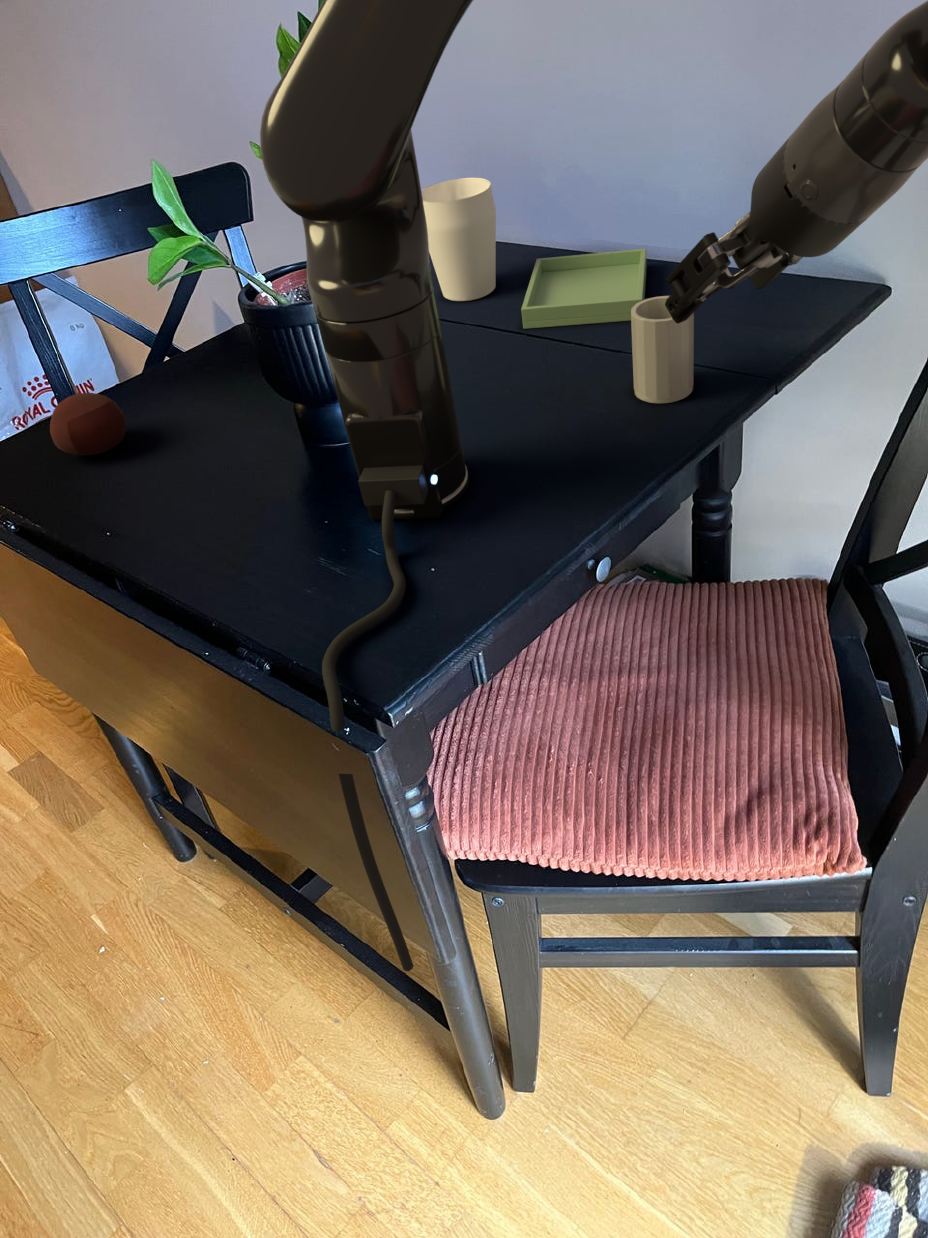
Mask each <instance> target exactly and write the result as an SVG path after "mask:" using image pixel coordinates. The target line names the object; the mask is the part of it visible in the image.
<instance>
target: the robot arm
mask: <svg viewBox="0 0 928 1238" xmlns="http://www.w3.org/2000/svg"><path fill="white" fill-rule="evenodd" d="M473 2H474V0H322V3H321V4H320V6H319V8H318V10H317V12H316V14H315V15H314V18H313V20H312V21H311V24H310V26H309V27H308V30H307V31H306V33H305V35H304V37H303V39H302V41H301V42H300V44H299V46H298V48H297V50H296V52H295V53H294V55H293V57H292V59H291V60H290V62H289V64H288V65H287V67H286V69H285V71H284V73H283V74H282V76H281V78H280V79H279V81H278V82H277V84H276V85H275V87H274V88H273V90H272V91H271V93H270V95H269V97H268V99H267V101H266V103H265V106H264V109H263V113H262V115H261V120H260V130H259V143H260V144H259V145H260V146H259V147H260V148H259V149H260V154H261V161H262V165H263V169H264V171H265V174H266V175H265V176H266V177H267V179H268V182H269V184H270V186H271V188H272V190H273V191H274V193H275V194H276V196H277V197H278V198H279V200H280V201H281V202H282V203H283V205H285V206H286V207H287V208H288V209H289V210H290V211H292V212H293V213H294V214H296V215H298V216H300V217H301V221H302V226H303V232H304V239H305V250H306V251H305V253H306V283H307V288H308V292H309V296H310V300H311V304H312V307H313V311H314V315H315V319H316V322H317V326H318V330H319V334H320V336H321V341H322V345H323V349H324V353H325V356H326V361H327V364H328V369H329V372H330V375H331V379H332V383H333V386H334V390H335V394H336V395H335V396H336V398H337V402H338V405H339V409H340V413H341V417H342V420H343V424H344V428H345V432H346V436H347V440H348V443H349V447H350V450H351V454H352V458H353V462H354V465H355V468H356V472H357V477H358V481H357V482H358V486H359V490H360V493H361V497H362V500H363V501H362V502H363V504H364V506H365V507H366V508H367V511H368V515H369V518H370V520H372V521H377V520H381V535H382V542H383V546H384V553H385V559H386V564H387V567H388V571H389V574H390V576H391V579H392V582H393V588H392V590H391V593H390V594H389V596H388V597H387V599H386V601H385V602H383V604H381V605H380V606H379V607H378V608H376V609H374V610H373V611H371V612H369V613H368V614H366V615H365V616H363V617H362V618H360V619H358V620H356V621H355V622H353V623H352V624H350V625H349V626H347V627H346V628H344V629H343V630H342V631H341V632H340V633H339V634H338V635H337V636H336V637H335V638H334V639H333V640H332V641H331V643H330V644H329V645H328V647H327V649H326V651H325V653H324V655H323V658H322V663H321V674H322V675H321V676H322V681H323V685H324V688H325V692H326V697H327V702H328V711H329V719H330V720H329V721H330V728H331V730H332V731H333V732H340V731H342V730H343V729H344V728H345V725H346V724H345V723H346V722H345V713H344V703H343V697H342V692H341V688H340V687H341V686H340V684H339V680H338V676H337V671H336V664H337V661H338V658H339V656H340V655H341V652H342V651H343V650H344V648H345V647H346V645H348V643H350V642H351V641H352V640H354V639H355V638H356V637H357V636H359V635H361V634H362V633H364V632H366V631H368V630H369V629H370V628H372V627H374V626H376V625H377V624H379V623H381V622H382V621H383V620H385V619H386V618H387V617H388V616H390V615H391V614H392V613H393V612H394V611H395V610H396V609H397V608H398V607H399V605H400V604H401V602H402V601H403V598H404V596H405V593H406V587H407V583H406V577H405V574H404V571H403V570H402V567H401V564H400V559H399V556H398V550H397V549H398V548H397V543H396V537H395V529H394V528H395V525H394V521H395V520H408V519H409V520H410V519H438V518H440V517H442V514H443V512H444V510H446V509H447V508H449V507H451V506H452V505H454V504H455V503H457V502H458V501H459V500H460V499H461V498H462V497H463V496H464V495H465V493H466V491H467V490H468V488H469V486H470V485H469V484H470V478H469V472H468V467H467V465H466V462H465V461H466V460H465V456H464V449H463V445H462V439H461V435H460V429H459V423H458V418H457V412H456V406H455V400H454V394H453V389H452V384H451V379H450V372H449V367H448V361H447V356H446V350H445V345H444V339H443V333H442V327H441V321H440V316H439V315H440V314H439V310H438V305H437V299H436V298H437V297H436V292H435V287H434V281H433V275H432V269H431V261H430V259H431V258H430V253H429V242H428V231H427V223H426V217H425V211H424V205H423V199H422V192H421V190H422V187H421V180H420V173H419V167H418V162H417V161H418V160H417V155H416V149H415V143H414V137H413V132H412V131H413V130H412V128H413V126H414V123H415V120H416V118H417V116H418V113H419V110H420V108H421V105H422V102H423V100H424V98H425V96H426V93H427V91H428V88H429V86H430V83H431V81H432V79H433V76H434V73H435V71H436V69H437V67H438V65H439V63H440V60H441V59H442V56H443V54H444V52H445V50H446V48H447V46H448V45H449V43H450V41H451V38H452V36H453V35H454V33H455V31H456V29H457V27H458V26H459V24H460V23H461V20H462V19H463V17H464V16H465V14H466V13H467V11H468V9H469V8H470V6H471V5H472V3H473ZM927 160H928V0H926V1H924V2H923V3H921V4H919V5H918V6H916V7H915V8H913V9H912V10H909V11H908V12H907V13H905V14H904V15H902V16H901V17H900V18H899V19H897V20H896V21H895V22H894V23H893V24H892V25H891V26H889V28H888V29H886V30H885V32H883V33H882V34H881V36H880V37H879V38H877V40H876V41H875V42H874V43H873V45H871V46H870V48H869V49H868V50H867V52H866V53H865V54H864V55H863V56H862V58H861V59H860V60H859V61H858V62H857V64H856V65H855V66H854V67H853V68H852V69H851V70H850V72H849V73H848V74H847V75H846V76H845V77H844V79H842V81H841V82H840V83H839V84H838V85H837V86H836V87H834V88H833V90H831V91H830V92H829V93H827V95H825V96H824V97H823V98H822V99H821V100H820V101H819V102H818V103H817V104H816V105H815V106H814V107H813V109H812V110H811V111H810V112H809V113H808V114H807V116H805V118H804V119H803V120H802V121H801V122H800V123H799V125H797V127H796V129H795V130H794V131H793V132H792V133H791V135H790V136H789V137H788V138H787V139H786V141H784V143H783V144H782V145H781V146H780V147H779V149H778V150H777V151H776V152H775V153H774V154H773V156H772V157H771V158H770V159H769V160H768V162H766V164H764V166H763V167H762V168H761V170H759V172H758V174H757V175H756V177H755V179H754V182H753V184H752V188H751V194H750V195H751V197H750V211H749V212H747V213H746V214H745V215H744V216H742V217H741V218H740V219H738V220H737V221H736V222H735V224H734V227H733V228H731V229H730V230H728V231H727V232H726V233H724V234H723V235H722V236H721V237H719V238H718V236H717V234H716V233H715V231H714V232H709V233H707V234H705V235H703V236H702V238H700V240H699V241H698V242H697V243H696V245H694V247H693V248H692V249H690V251H689V252H688V253H687V254H686V255H685V257H684V258H683V259H682V260H681V261H680V262H679V263H678V264H677V265H676V267H675V268H674V269H673V270H672V271H671V272H670V273H669V274H668V276H667V277H665V281H666V283H667V285H668V286H669V287H670V289H671V291H672V293H671V294H670V295H668V296H669V297H668V298H667V300H666V303H665V306H666V308H667V310H668V311H669V313H670V315H671V317H672V319H673V320H674V321H675V322H676V323H677V324H679V323H681V322H683V321H686V320H687V319H688V318H689V317H690V316H691V315H692V314H693V313H694V314H695V312H696V311H697V310H698V309H699V308H700V307H701V305H703V303H704V302H706V301H707V299H709V298H710V297H711V296H713V295H715V294H717V292H719V291H720V290H722V289H728V290H733V289H735V288H736V287H738V286H739V285H740V284H742V283H743V282H744V281H746V280H748V279H750V281H751V283H752V285H753V286H754V288H755V289H756V290H757V291H758V290H761V289H765V288H766V287H768V286H769V285H770V284H771V283H772V282H773V281H774V280H775V279H776V278H777V277H778V276H779V275H781V273H782V272H783V271H785V270H786V269H787V268H788V267H790V266H793V265H796V264H798V263H800V261H801V260H802V259H803V258H816V257H821V256H824V255H826V254H828V253H830V252H831V251H833V250H834V249H836V248H837V247H838V246H839V245H840V244H841V243H843V242H844V241H845V240H846V239H847V238H848V237H849V236H850V235H852V233H853V232H854V231H855V230H857V229H858V228H859V227H860V226H861V225H862V224H863V223H864V222H865V221H867V220H868V219H869V218H870V217H871V216H872V215H873V214H874V213H876V211H878V210H879V209H880V208H881V207H882V206H883V205H884V204H885V203H887V202H888V201H889V200H890V199H891V198H892V197H894V195H895V194H897V192H899V191H900V189H901V188H902V187H903V186H904V185H905V184H906V183H907V182H908V181H909V179H910V178H911V177H912V176H913V174H914V173H915V172H916V171H917V170H918V168H920V167H921V166H922V165H923V163H924V162H926V161H927ZM730 258H732V259H733V262H734V263H735V265H736V267H737V268H738V269H739V271H737V273H734V274H732V273H731V272H730V270H729V266H730V265H731V263H732V262H731V260H730ZM338 778H339V782H340V786H341V791H342V794H343V798H344V802H345V806H346V810H347V814H348V818H349V821H350V824H351V829H352V832H353V835H354V839H355V842H356V847H357V849H358V852H359V856H360V858H361V861H362V864H363V867H364V870H365V873H366V875H367V878H368V881H369V883H370V886H371V889H372V891H373V895H374V897H375V899H376V902H377V904H378V907H379V909H380V912H381V914H382V917H383V919H384V922H385V924H386V927H387V929H388V932H389V934H390V937H391V940H392V943H393V945H394V947H395V951H396V953H397V956H398V958H399V961H400V964H401V967H402V970H403V971H404V972H411V970H413V968H414V963H413V960H412V957H411V954H410V951H409V948H408V946H407V942H406V940H405V937H404V934H403V932H402V928H401V926H400V924H399V921H398V919H397V916H396V913H395V910H394V908H393V905H392V903H391V899H390V898H389V894H388V891H387V890H386V887H385V883H384V880H383V878H382V876H381V872H380V870H379V866H378V865H377V861H376V858H375V855H374V852H373V849H372V845H371V842H370V839H369V835H368V832H367V828H366V824H365V820H364V817H363V816H364V815H363V813H362V808H361V804H360V800H359V797H358V792H357V789H356V783H355V779H354V775H353V773H338Z"/></svg>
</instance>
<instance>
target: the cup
mask: <svg viewBox="0 0 928 1238" xmlns="http://www.w3.org/2000/svg"><path fill="white" fill-rule="evenodd" d="M421 192H422V199H423V205H424V211H425V217H426V223H427V231H428V242H429V257H430V259H431V262H432V265H433V268H434V271H435V274H436V277H437V281H438V284H439V287H440V291H441V293H442V296H443V297H444V298H445V299H447V300H449V301H452V302H469V301H474V300H478V299H481V298H484V297H486V296H487V295H489V294H491V293H492V292H493V291H494V290H495V289H496V285H497V284H496V273H497V272H496V267H497V266H496V263H497V261H496V259H497V258H496V255H497V251H496V250H497V249H496V248H497V247H496V245H497V243H496V241H497V239H496V238H497V235H496V234H497V233H496V232H497V231H496V228H497V227H496V226H497V212H496V211H497V210H496V204H495V200H494V194H493V189H492V183H491V182H490V180H488V179H486V178H482V177H461V178H453V179H449V180H444V181H440V182H437V183H434V184H431V185H429V186H426V187H425V188H423V189H421Z"/></svg>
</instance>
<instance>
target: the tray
mask: <svg viewBox="0 0 928 1238" xmlns="http://www.w3.org/2000/svg"><path fill="white" fill-rule="evenodd" d="M647 265H648V264H647V248H635V249H626V250H625V249H624V250H616V251H615V250H614V251H607V252H606V251H605V252H595V253H586V254H585V253H583V254H575V255H562V256H552V257H541V258H536V260H535V263H534V267H533V269H532V273H531V276H530V278H529V279H530V280H529V283H528V286H527V290H526V292H525V296H524V299H523V301H522V302H523V303H522V305H521V309H520V311H521V319H522V320H521V321H522V328H523V330H525V329H539V328H540V329H541V328H549V327H550V328H551V327H565V326H578V325H590V324H605V323H616V322H628V321H629V322H631V309H632V307H633V306H634V305H636V304H637V303H639V302H641V301H643V300H645V295H646V283H647V282H646V281H647V267H648V266H647Z"/></svg>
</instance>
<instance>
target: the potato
mask: <svg viewBox="0 0 928 1238" xmlns="http://www.w3.org/2000/svg"><path fill="white" fill-rule="evenodd" d="M126 422H127V421H126V417H125V415H124V412H123V410H122V409H121V408H120V406H119V404H117V402H116V401H114V400H112V399H111V398H109V397H108V396H106V395H104V394H99V393H94V392H82V393H77V394H72V395H69V396H67V397H65V398H64V399H63V400H61V401H60V402H58V404H57V405H56V406H55V408H54V409H53V411H52V415H51V417H50V421H49V433H50V437H51V439H52V441H53V442H52V443H53V444H54V445H55V447H56V448H57V449H58V450H60V451H63V452H64V453H67V454H70V455H75V456H84V457H85V456H96V455H99V454H101V453H106V452H109V450H111V449H113V448H114V447H117V445H119V444H120V443H121V442H122V441H123V439H124V438H125V436H126V432H127V423H126Z"/></svg>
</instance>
